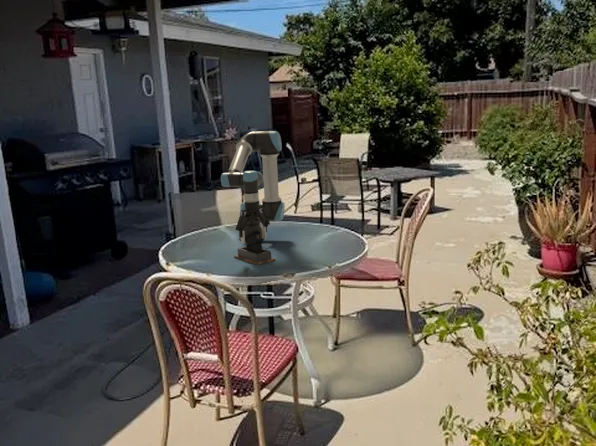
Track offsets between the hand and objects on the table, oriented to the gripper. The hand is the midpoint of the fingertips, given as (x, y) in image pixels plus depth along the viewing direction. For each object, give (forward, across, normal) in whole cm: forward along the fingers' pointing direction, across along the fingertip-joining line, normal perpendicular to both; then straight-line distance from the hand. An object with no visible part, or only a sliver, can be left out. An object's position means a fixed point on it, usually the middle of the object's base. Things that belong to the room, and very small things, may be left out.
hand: (253, 240), depth 292 cm
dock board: (+10, 0, 0) cm, 10 cm away
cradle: (+9, 0, 0) cm, 9 cm away
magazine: (+9, 0, 0) cm, 9 cm away
